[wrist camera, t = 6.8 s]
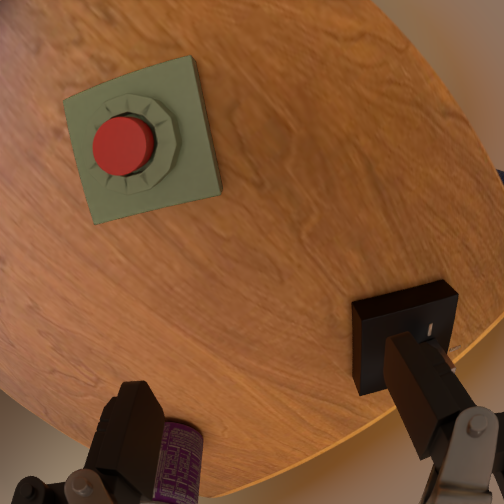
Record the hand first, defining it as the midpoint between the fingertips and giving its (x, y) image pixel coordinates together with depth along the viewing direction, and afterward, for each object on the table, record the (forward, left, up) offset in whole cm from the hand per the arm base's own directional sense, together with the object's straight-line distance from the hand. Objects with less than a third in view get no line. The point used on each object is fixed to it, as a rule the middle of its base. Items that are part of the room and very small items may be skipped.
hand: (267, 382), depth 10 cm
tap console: (-13, +15, -16) cm, 26 cm away
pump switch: (+7, -8, -16) cm, 19 cm away
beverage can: (+15, +25, -17) cm, 33 cm away
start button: (+7, -8, -13) cm, 16 cm away
